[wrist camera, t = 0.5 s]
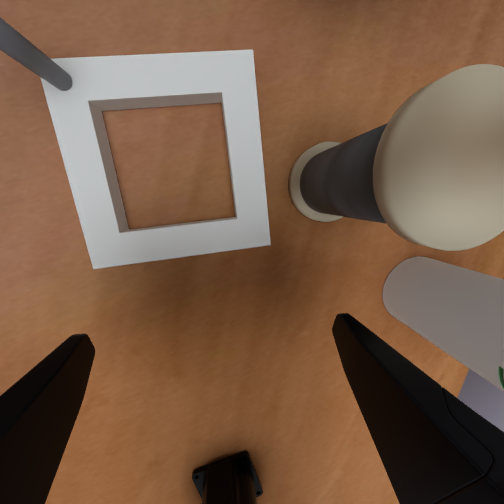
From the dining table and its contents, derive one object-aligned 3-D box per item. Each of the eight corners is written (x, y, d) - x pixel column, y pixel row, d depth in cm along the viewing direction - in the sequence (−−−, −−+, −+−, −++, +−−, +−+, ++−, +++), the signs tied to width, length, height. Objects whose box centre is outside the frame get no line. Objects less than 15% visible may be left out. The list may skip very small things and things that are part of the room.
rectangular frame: (266, 240, 22) (311, 281, 11) (76, 266, 20) (-79, 342, 10) (249, 64, 19) (290, -109, 8) (21, 76, 17) (-307, -125, 6)
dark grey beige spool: (363, 208, 23) (544, 223, 10) (297, 229, 22) (401, 271, 10) (351, 135, 21) (550, 43, 8) (280, 156, 21) (377, 91, 8)
